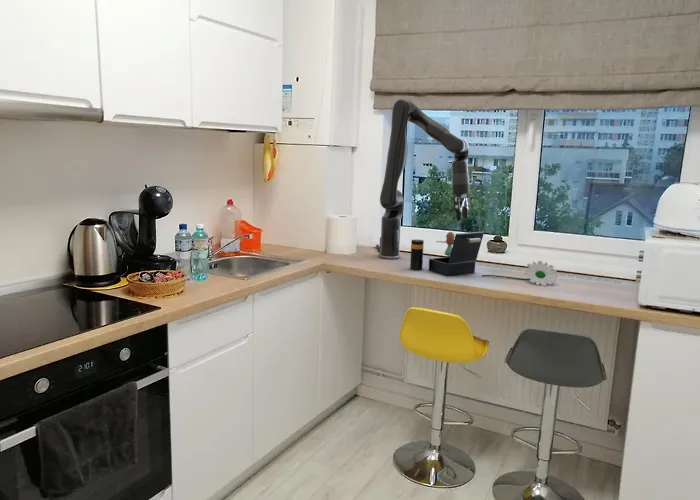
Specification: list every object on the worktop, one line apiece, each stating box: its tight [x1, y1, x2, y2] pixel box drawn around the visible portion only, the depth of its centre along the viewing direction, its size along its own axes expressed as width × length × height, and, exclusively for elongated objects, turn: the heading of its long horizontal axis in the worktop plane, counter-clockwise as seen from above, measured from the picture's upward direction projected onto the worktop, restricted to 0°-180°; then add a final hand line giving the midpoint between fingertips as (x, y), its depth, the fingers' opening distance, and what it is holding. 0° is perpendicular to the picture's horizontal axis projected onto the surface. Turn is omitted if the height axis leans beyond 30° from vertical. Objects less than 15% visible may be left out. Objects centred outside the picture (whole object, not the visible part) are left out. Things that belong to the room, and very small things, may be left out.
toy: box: [435, 231, 455, 257], centre depth 254 cm, size 13×4×15 cm, turn 84°
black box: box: [428, 256, 476, 277], centre depth 236 cm, size 13×16×5 cm
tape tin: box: [409, 239, 425, 271], centre depth 239 cm, size 6×6×13 cm
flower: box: [482, 260, 559, 287], centre depth 224 cm, size 13×6×30 cm
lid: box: [448, 231, 485, 264], centre depth 226 cm, size 13×16×4 cm
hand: (462, 219), depth 243 cm, fingers open, 8 cm apart
